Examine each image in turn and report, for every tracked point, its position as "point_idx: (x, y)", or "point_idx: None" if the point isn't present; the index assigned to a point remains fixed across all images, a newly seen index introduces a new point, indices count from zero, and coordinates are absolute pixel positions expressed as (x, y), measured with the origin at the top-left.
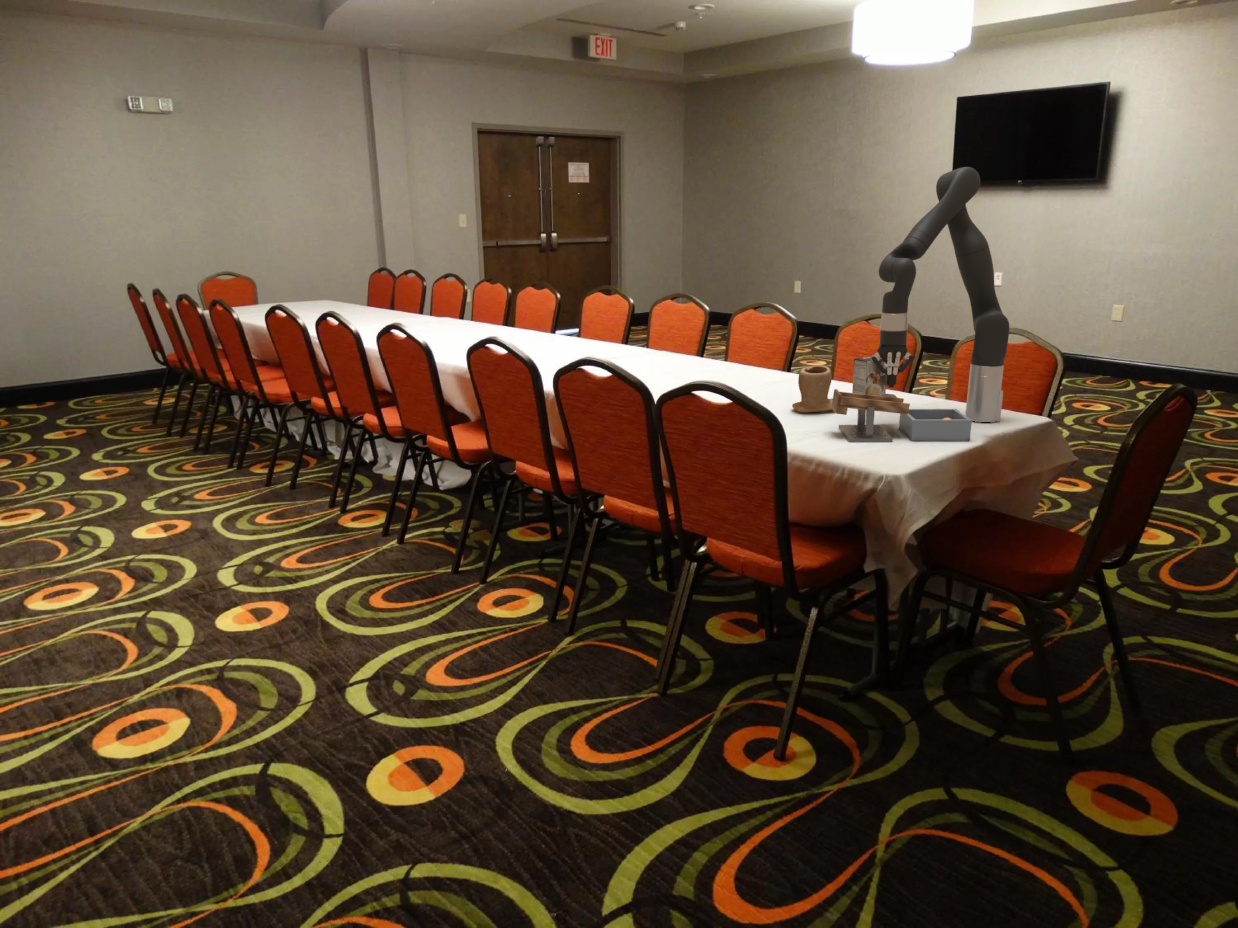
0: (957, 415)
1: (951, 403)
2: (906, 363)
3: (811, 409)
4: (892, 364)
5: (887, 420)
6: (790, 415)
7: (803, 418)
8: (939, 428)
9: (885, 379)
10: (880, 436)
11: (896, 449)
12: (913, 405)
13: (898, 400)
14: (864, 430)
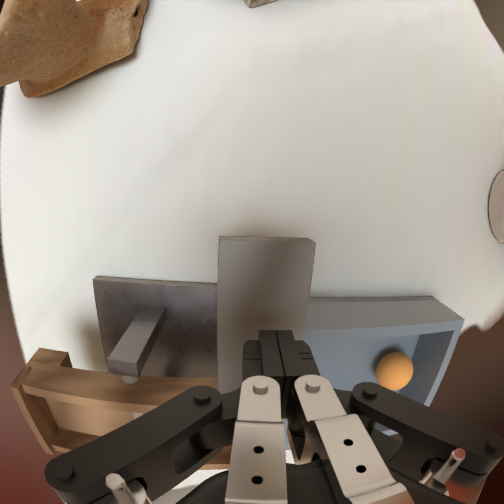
0: (437, 361)
1: (487, 35)
2: (401, 471)
3: (45, 91)
4: (309, 445)
5: (286, 173)
6: (10, 115)
7: (27, 148)
8: None
9: None
10: None
11: None
12: (412, 10)
13: None
14: (160, 351)
